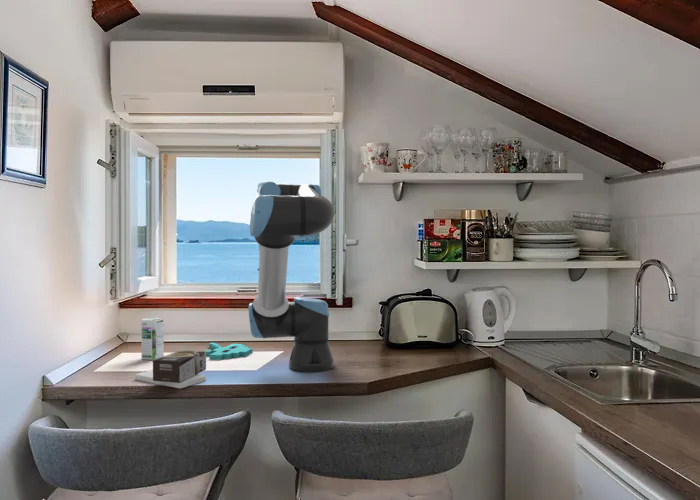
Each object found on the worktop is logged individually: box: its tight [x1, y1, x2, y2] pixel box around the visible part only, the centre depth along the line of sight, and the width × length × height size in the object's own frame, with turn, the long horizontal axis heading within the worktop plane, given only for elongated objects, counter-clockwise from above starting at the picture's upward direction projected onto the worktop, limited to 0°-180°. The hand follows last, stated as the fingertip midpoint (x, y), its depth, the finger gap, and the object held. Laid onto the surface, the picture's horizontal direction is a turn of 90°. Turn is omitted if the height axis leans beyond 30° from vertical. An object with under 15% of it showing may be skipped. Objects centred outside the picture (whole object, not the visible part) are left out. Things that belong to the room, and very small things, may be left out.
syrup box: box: [140, 317, 165, 361], centre depth 196 cm, size 6×6×14 cm
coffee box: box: [152, 349, 207, 383], centre depth 166 cm, size 9×6×16 cm
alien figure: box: [205, 342, 254, 361], centre depth 204 cm, size 20×2×20 cm
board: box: [134, 369, 207, 389], centre depth 167 cm, size 20×10×2 cm, turn 59°
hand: (262, 288), depth 198 cm, fingers closed
